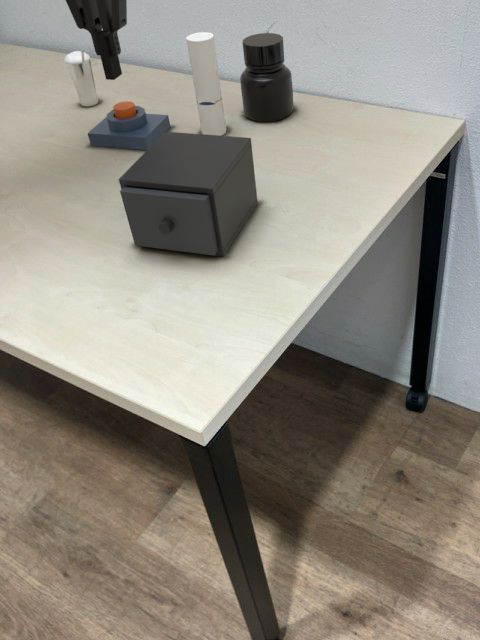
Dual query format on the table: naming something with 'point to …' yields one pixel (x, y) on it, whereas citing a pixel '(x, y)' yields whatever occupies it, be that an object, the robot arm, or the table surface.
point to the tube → (206, 83)
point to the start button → (124, 110)
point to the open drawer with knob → (170, 219)
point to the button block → (129, 130)
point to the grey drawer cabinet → (202, 176)
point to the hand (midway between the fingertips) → (114, 76)
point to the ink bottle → (265, 78)
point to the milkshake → (82, 77)
